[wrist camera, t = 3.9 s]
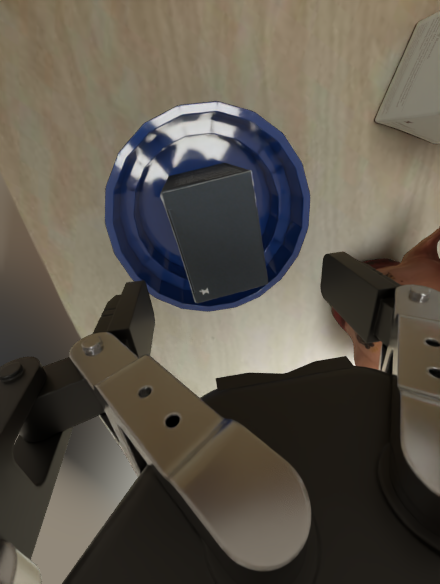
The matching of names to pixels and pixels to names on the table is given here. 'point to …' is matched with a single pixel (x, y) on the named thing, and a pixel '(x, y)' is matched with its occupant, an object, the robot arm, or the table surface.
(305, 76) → the table surface
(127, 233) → the bowl
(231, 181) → the box
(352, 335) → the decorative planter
